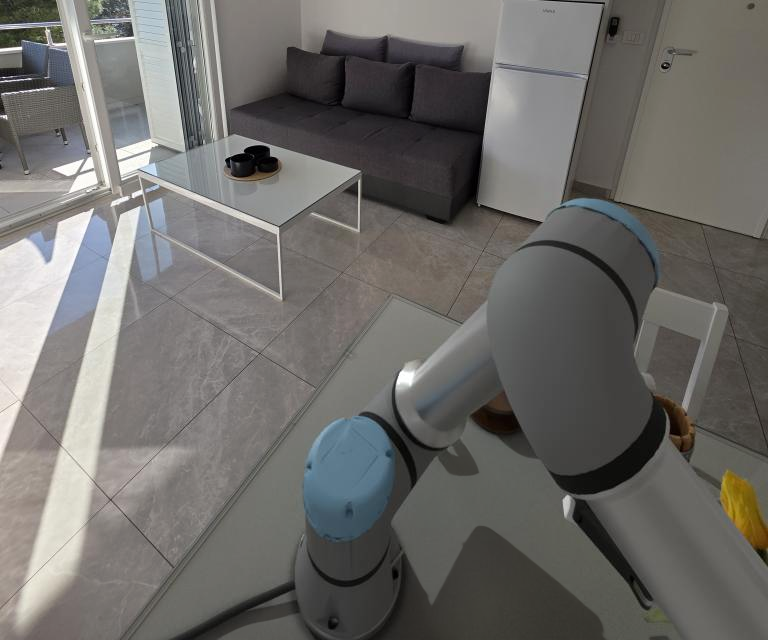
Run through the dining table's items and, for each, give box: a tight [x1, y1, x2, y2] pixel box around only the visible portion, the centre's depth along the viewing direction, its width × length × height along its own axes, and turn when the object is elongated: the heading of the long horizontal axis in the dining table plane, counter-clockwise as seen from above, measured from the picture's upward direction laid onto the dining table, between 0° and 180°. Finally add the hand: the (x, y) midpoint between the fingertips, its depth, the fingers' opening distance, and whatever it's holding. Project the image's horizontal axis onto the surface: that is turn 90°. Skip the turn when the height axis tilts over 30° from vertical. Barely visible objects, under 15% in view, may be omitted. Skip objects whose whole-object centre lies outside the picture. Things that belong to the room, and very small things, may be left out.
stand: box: [469, 390, 522, 435], centre depth 87 cm, size 13×13×5 cm
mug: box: [639, 371, 696, 464], centre depth 75 cm, size 16×11×15 cm
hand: (554, 436), depth 62 cm, fingers closed on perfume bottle, 5 cm apart
